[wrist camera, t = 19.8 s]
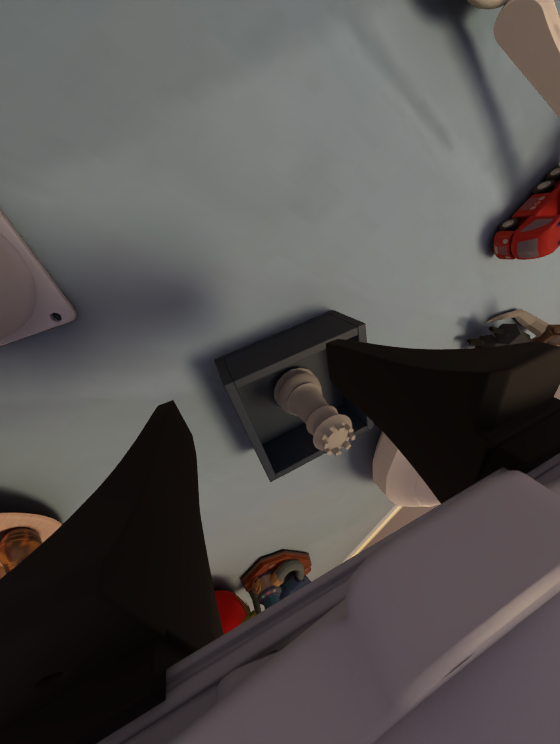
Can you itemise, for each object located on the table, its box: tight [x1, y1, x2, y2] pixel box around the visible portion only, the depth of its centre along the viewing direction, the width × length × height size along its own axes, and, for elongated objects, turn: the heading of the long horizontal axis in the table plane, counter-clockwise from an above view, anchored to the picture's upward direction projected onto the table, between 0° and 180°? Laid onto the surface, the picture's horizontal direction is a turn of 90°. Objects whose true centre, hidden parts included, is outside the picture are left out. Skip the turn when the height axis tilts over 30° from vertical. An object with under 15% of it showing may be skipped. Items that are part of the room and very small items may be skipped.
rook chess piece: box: [274, 368, 356, 456], centre depth 21 cm, size 4×4×8 cm
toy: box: [467, 309, 560, 348], centre depth 31 cm, size 10×8×15 cm
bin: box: [215, 310, 373, 482], centre depth 23 cm, size 11×11×4 cm
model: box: [241, 550, 311, 615], centre depth 36 cm, size 12×9×9 cm
